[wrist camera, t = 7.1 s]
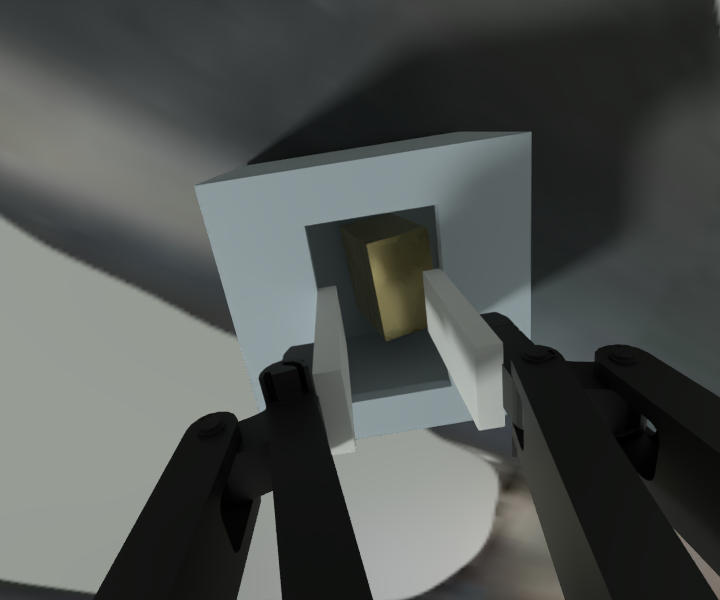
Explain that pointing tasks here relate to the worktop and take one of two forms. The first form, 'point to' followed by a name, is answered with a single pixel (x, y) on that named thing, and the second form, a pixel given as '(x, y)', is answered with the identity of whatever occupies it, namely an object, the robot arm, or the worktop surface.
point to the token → (389, 272)
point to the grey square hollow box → (330, 268)
